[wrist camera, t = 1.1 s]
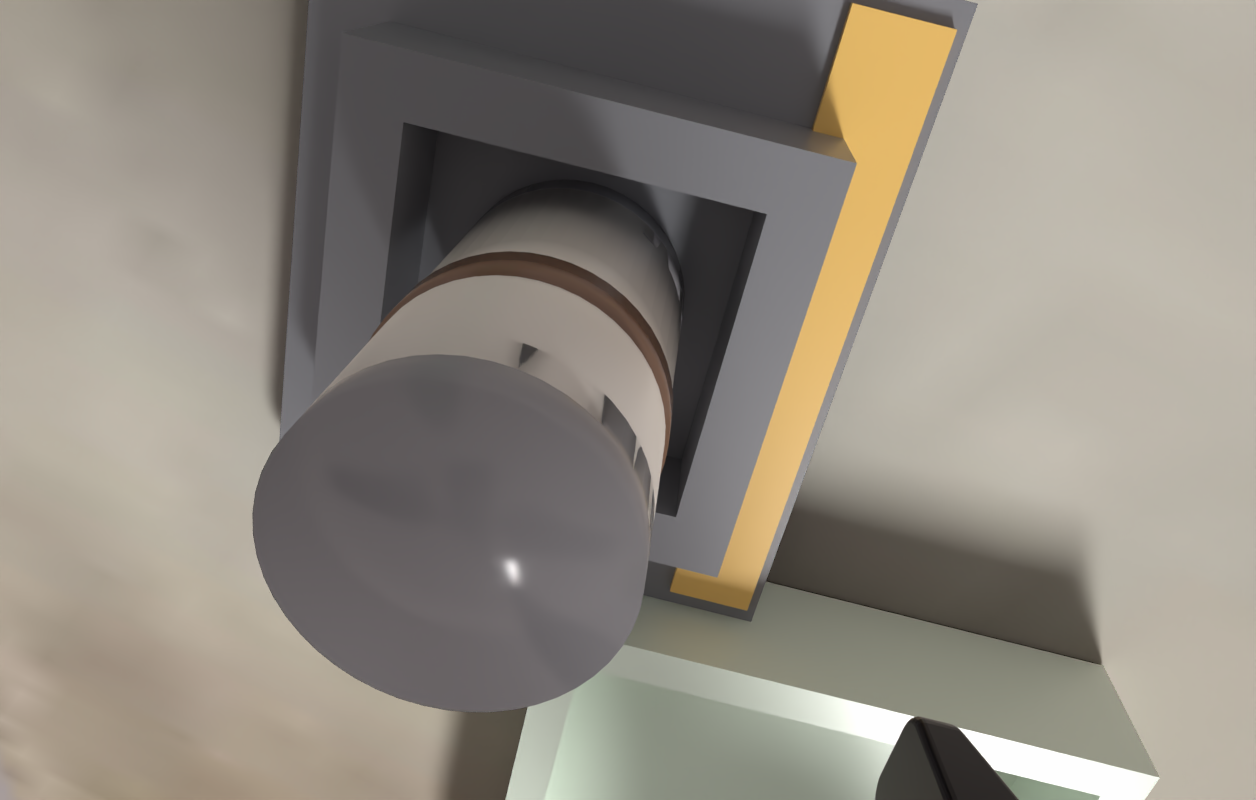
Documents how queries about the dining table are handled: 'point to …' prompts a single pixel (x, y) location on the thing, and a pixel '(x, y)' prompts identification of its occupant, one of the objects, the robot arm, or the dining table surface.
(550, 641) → the cylinder
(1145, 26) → the dining table surface
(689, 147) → the holder
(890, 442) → the dining table surface
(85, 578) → the dining table surface
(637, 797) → the tray
